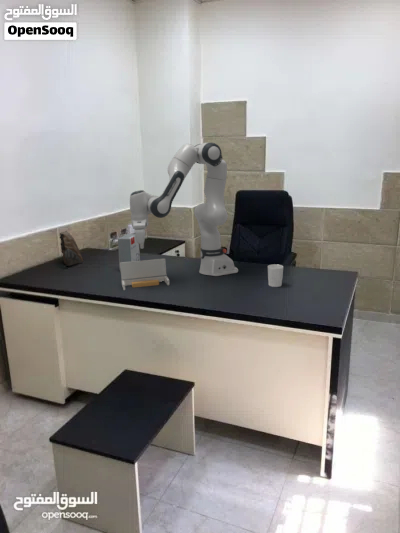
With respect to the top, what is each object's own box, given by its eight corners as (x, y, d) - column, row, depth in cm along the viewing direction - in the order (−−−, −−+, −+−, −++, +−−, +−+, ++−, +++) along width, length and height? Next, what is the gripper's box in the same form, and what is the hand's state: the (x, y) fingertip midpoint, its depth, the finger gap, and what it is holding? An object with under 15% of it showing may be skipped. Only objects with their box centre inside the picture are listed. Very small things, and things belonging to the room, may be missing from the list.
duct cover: (166, 275, 226) (165, 274, 228) (165, 258, 225) (164, 258, 226) (121, 279, 220) (121, 279, 222) (120, 262, 219) (119, 262, 220)
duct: (166, 280, 228) (166, 275, 227) (169, 285, 220) (169, 279, 219) (121, 285, 222) (121, 280, 221) (123, 290, 214) (123, 284, 213)
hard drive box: (131, 272, 245) (129, 239, 240) (119, 271, 247) (116, 238, 241) (140, 265, 260) (138, 233, 254) (129, 264, 261) (126, 233, 256)
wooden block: (158, 283, 224) (158, 279, 224) (159, 285, 222) (158, 281, 221) (132, 286, 221) (131, 282, 221) (132, 288, 218) (132, 283, 218)
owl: (67, 266, 262) (63, 234, 256) (55, 263, 270) (52, 232, 264) (84, 261, 271) (80, 231, 266) (72, 259, 279) (69, 229, 274)
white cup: (273, 288, 211) (274, 269, 209) (264, 284, 218) (264, 265, 215) (285, 285, 215) (286, 267, 212) (276, 281, 222) (276, 263, 219)
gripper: (135, 219, 228) (137, 243, 232) (132, 226, 208) (135, 253, 212) (146, 218, 228) (148, 243, 232) (145, 225, 209) (147, 252, 213)
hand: (142, 248), depth 222 cm, fingers closed
